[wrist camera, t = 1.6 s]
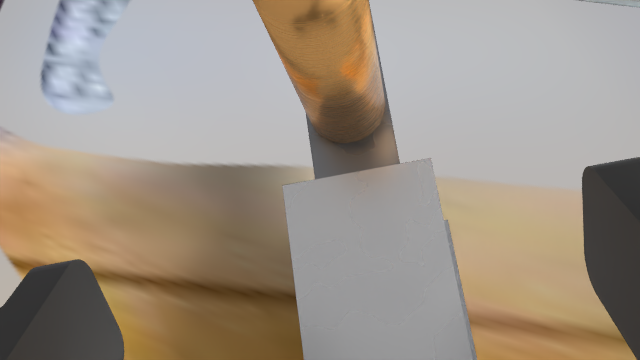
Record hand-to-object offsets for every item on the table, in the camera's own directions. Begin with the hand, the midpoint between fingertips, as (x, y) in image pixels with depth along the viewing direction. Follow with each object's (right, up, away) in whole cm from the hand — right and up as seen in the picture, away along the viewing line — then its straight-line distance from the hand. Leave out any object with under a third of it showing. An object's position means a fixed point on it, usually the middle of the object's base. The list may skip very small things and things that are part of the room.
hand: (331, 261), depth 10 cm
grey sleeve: (+3, -7, +18) cm, 19 cm away
